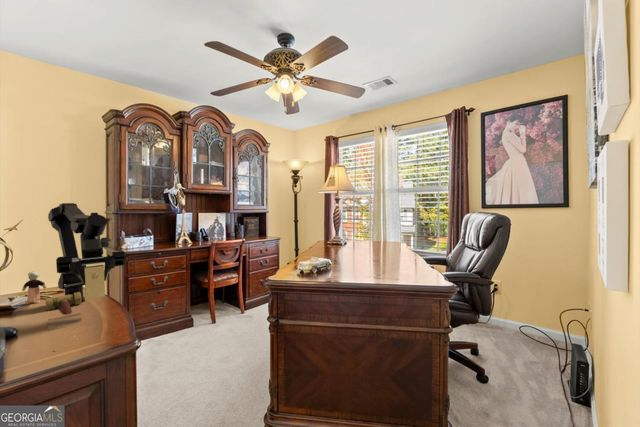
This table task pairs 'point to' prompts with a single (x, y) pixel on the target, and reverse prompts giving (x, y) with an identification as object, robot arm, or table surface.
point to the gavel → (63, 302)
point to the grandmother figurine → (33, 288)
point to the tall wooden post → (94, 281)
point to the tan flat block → (64, 321)
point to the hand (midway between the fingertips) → (95, 281)
